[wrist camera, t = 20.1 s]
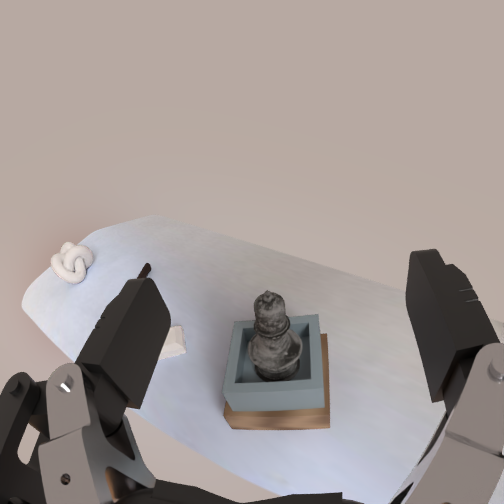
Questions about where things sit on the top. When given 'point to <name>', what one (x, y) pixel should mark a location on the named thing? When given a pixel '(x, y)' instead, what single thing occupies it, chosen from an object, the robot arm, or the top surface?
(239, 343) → the blue-grey square tray
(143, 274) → the kitchen knife
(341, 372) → the top surface
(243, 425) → the tower base
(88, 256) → the white knot sculpture
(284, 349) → the salt shaker
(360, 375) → the top surface
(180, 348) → the soap bar
